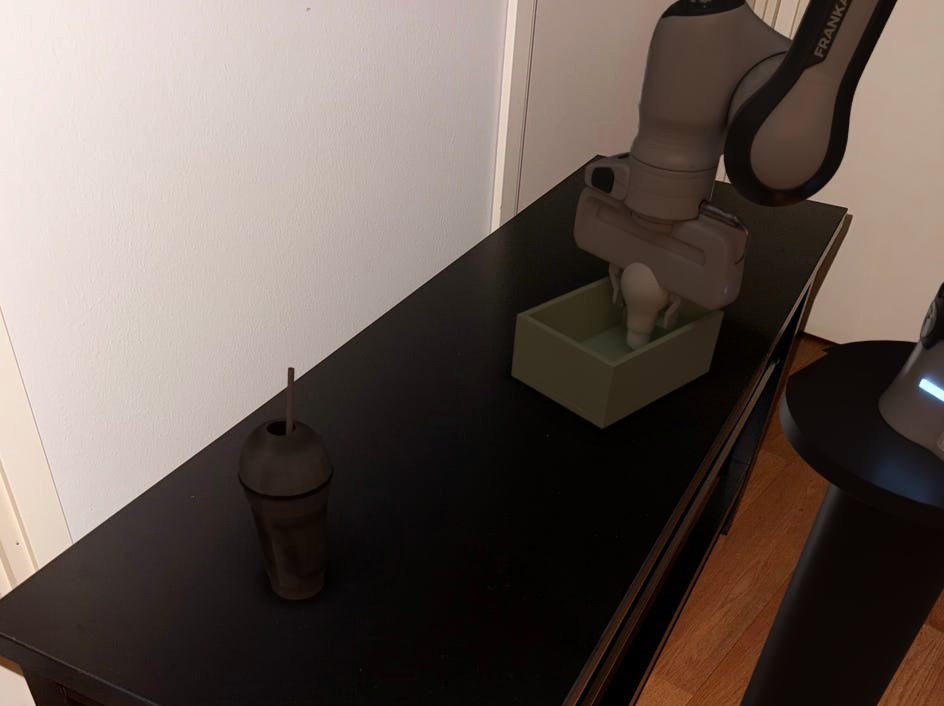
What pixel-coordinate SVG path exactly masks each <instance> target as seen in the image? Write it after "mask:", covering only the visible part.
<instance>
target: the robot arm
mask: <svg viewBox="0 0 944 706" xmlns="http://www.w3.org/2000/svg"><path fill="white" fill-rule="evenodd" d="M898 1H899V0H808V3H807V4H806V8H805V11H804V12H803V14H802V17H801V19H800V21H799V24H798V26H797V28H796V31H795V33H794V34H793V37H792V39H791V38H789V37H788V36H786V35H784V34H782V33H780V32H779V31H777V30H776V29H774V28H773V27H772V26H770V25H769V24H768V23H767V22H765V21H764V20H763V19H762V18H761V17H760V16H758V14H757V13H756V12H755V11H754V10H753V9H752V7H751V6H750V4H749V3H748V1H747V0H676V1H675V2H673V3H672V4H670V5H669V6H668V7H667V8H666V10H665V11H663V12H662V14H661V15H660V17H659V18H658V19H657V22H656V24H655V27H654V29H653V32H652V35H651V39H650V42H649V45H648V49H647V53H646V57H645V62H644V67H643V71H642V78H641V82H640V87H639V93H638V101H637V107H638V124H637V129H636V132H635V135H634V137H633V139H632V141H631V144H630V148H629V151H625V152H621V153H617V154H612V155H609V156H606V157H603V158H601V159H598V160H596V161H595V160H594V161H593V162H591V163H589V164H587V165H586V167H585V170H584V184H586V185H587V186H585V187H584V188H583V190H582V191H581V194H580V196H579V199H578V203H577V207H576V213H575V219H574V226H573V238H574V241H575V243H576V246H577V248H578V249H580V250H582V251H585V252H587V253H589V254H592V255H593V256H595V257H597V258H599V259H602V260H603V261H606V262H607V263H609V266H608V274H609V275H608V276H610V278H611V282H612V285H613V289H614V294H613V300H612V302H613V303H614V304H616V305H618V306H620V307H622V308H625V306H627V305H626V302H625V299H624V297H623V293H622V290H621V278H622V274H623V271H624V269H625V268H626V267H627V266H629V265H630V264H633V263H641V264H644V265H646V266H647V267H648V268H649V269H650V270H651V271H652V273H653V274H654V276H655V279H656V281H657V283H658V285H659V286H660V287H662V288H664V289H666V290H668V291H670V292H671V294H670V301H672V302H673V301H674V303H673V304H672V305H671V306H670V307H669V306H668V307H666V308H665V309H662V310H659V311H658V315H657V318H658V319H657V320H656V325H658V326H660V327H662V328H664V329H666V330H669V329H671V328H673V327H674V326H675V325H676V322H677V317H678V313H679V312H680V311H681V310H682V309H683V308H684V307H685V306H686V305H687V304H688V303H689V302H690V301H691V302H693V303H695V304H697V305H700V306H702V307H704V308H706V309H708V310H710V311H715V310H718V309H719V310H721V309H722V308H724V307H727V306H728V305H729V304H732V303H733V302H734V301H735V300H736V299H737V298H738V297H739V294H740V290H741V285H742V282H743V281H742V280H743V274H744V268H745V259H746V255H747V252H748V248H749V245H750V242H751V231H750V230H749V228H748V226H747V224H746V223H745V222H744V221H743V217H742V216H741V215H740V214H739V213H737V212H735V211H729V210H727V209H724V208H723V207H721V206H720V205H717V204H715V203H713V202H712V197H713V196H712V195H713V192H714V186H715V183H716V179H717V174H718V170H719V166H720V161H721V157H722V156H723V166H724V171H725V174H726V176H727V179H728V182H729V183H730V185H731V186H732V187H733V189H734V190H735V191H736V193H738V194H739V195H740V196H741V197H742V198H744V199H745V200H747V201H749V202H751V203H753V204H756V205H759V206H763V207H768V208H783V207H784V208H785V207H789V206H794V205H796V204H799V203H802V202H804V201H806V200H808V199H810V198H812V197H813V196H814V195H816V194H818V193H819V192H820V191H821V190H822V189H824V188H825V187H826V186H827V185H828V184H829V182H830V181H831V180H832V179H833V178H834V177H835V175H836V173H837V172H838V170H839V168H840V167H841V165H842V162H843V160H844V157H845V154H846V150H847V147H848V142H849V134H850V133H849V132H850V123H851V114H852V107H853V103H854V102H853V101H854V98H855V95H856V92H857V88H858V86H859V82H860V80H861V78H862V77H863V74H864V71H865V69H866V67H867V65H868V63H869V61H870V59H871V57H872V54H873V52H874V50H875V48H876V46H877V44H878V42H879V40H880V38H881V36H882V34H883V32H884V29H885V27H886V25H887V23H888V21H889V19H890V18H891V15H892V13H893V11H894V9H895V7H896V4H897V2H898ZM916 342H917V344H916V346H915V348H914V350H913V351H912V353H911V355H910V356H909V358H908V360H907V361H906V363H905V365H904V366H903V368H902V369H901V371H900V372H899V374H898V375H897V376H896V378H895V379H894V381H893V382H892V383H891V385H890V386H889V387H888V388H887V389H886V390H885V392H884V393H883V394H882V395H881V396H880V398H879V402H878V408H879V411H880V414H881V416H882V417H883V419H884V420H885V421H886V422H887V424H888V425H889V426H891V427H892V428H893V429H894V430H895V431H896V432H898V433H899V434H901V435H902V436H904V437H905V438H907V439H909V440H911V441H913V442H915V443H917V444H919V445H921V446H923V447H925V448H927V449H928V450H930V451H931V452H932V453H934V454H935V455H936V456H937V457H938V458H940V459H941V460H942V461H944V281H943V282H942V283H941V284H940V285H939V288H938V290H937V291H936V294H935V296H934V298H933V300H932V301H931V303H930V305H929V307H928V309H927V311H926V314H925V316H924V319H923V322H922V324H921V327H920V331H919V338H918V340H917V341H916Z"/></svg>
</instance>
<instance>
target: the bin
mask: <svg viewBox="0 0 944 706" xmlns="http://www.w3.org/2000/svg"><path fill="white" fill-rule="evenodd" d="M613 294H614V289H613V285H612V282H611V278H610V275H607V276H605V277H603V278H601V279H598V280H596V281H594V282H590V283H589V284H586V285H584V286H581V287H579V288H577V289H575V290H572V291H569V292H566V293H565V294H562V295H560V296H558V297H555V298H552V299H551V300H548V301H546V302H544V303H541V304H539V305H537V306H534V307H531V308H529V309H526V310H525V311H523V312H519V313H517V314H516V321H515V331H514V332H515V333H514V343H513V354H512V362H511V363H512V364H511V376H512V377H513V378H514V379H517V380H518V381H520V382H521V383H523V384H524V385H527V386H528V387H530V388H532V389H534V390H535V391H537V392H539V394H541V395H544V396H545V397H547V398H549V399H551V400H552V401H554V402H555V403H557V404H559V405H560V406H562V407H564V408H566V410H569V411H570V412H573V413H574V414H575V415H578V416H579V417H581V418H582V419H584V420H586V421H587V422H589V423H591V424H593V425H594V426H596V427H598V428H600V430H601V429H602V430H603V429H605V428H607V427H609V426H611V425H613V424H614V423H616V422H618V421H620V420H622V419H624V418H625V417H628V416H630V415H631V414H633V413H634V412H635V413H636V411H639V410H641V409H642V408H644V407H646V406H648V405H649V404H651V403H654V402H655V401H657V400H658V399H659V400H660V398H662V397H664V396H667V395H668V394H670V393H671V392H673V391H675V390H677V389H679V388H681V387H683V386H684V385H686V384H689V383H690V382H692V381H694V380H696V379H697V378H699V377H702V376H703V375H705V374H707V373H709V371H710V368H711V364H712V360H713V356H714V353H715V349H716V345H717V341H718V337H719V334H720V330H721V326H722V322H723V318H724V315H725V311H723V310H721V309H718V310H715V311H710V310H708V309H706V308H704V307H702V306H700V305H697V304H695V303H693V302H691V301H690V302H689V303H688V304H687V305H686V306H685V307H684V308H683V309H682V310H681V311H680V312H679V313H678V317H677V322H676V325H675V326H674V327H673V328H671V329H669V330H666V329H664V328H662V327H660V326H658V325H655V328H654V330H653V331H652V333H651V337H650V341H649V344H647V345H645V346H643V347H641V348H639V349H637V350H634V349H632V347H630V346H629V345H628V344H627V333H628V327H627V319H628V311H627V306H625V308H622V307H620V306H618V305H616V304H614V303H613V302H612V300H613ZM673 303H674V301H673V302H672V301H670V302H669V304H668V305H667V306H666V307H668V306H669V307H670V306H671V305H672V304H673ZM666 307H665V308H666ZM665 308H664V309H665Z"/></svg>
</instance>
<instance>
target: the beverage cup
mask: <svg viewBox="0 0 944 706" xmlns="http://www.w3.org/2000/svg"><path fill="white" fill-rule="evenodd" d="M295 370H296V369H295V367H293V366H289V367H287V381H286V383H287V385H286V387H287V389H286V418H284V417H283V418H282V417H279V418H273V419H270V420H266V421H264V422H263V423H261V424H259V425H257V427H256V428H253V430H252V431H251V432H250V434H248V436H247V437H246V439H245V440H244V442H243V444H242V446H241V450H240V454H239V459H238V470H237V478H238V481H239V484H240V486H241V487H242V490H243V492H244V495H245V498H246V501H247V502H248V504H249V507H250V510H251V513H252V518H253V522H254V526H255V530H256V534H257V537H258V542H259V545H260V550H261V553H262V554H261V555H262V558H263V561H264V565H265V570H266V573H267V576H268V578H269V580H270V585H271V588H272V590H273V592H275V594H276V595H278V596H279V597H281V598H283V599H287V600H292V601H293V600H295V601H297V600H298V601H299V600H300V601H301V600H304V599H305V600H306V599H309V598H311V597H313V596H315V595H317V594H318V593H319V592H320V591H321V590H322V588H323V587H324V585H325V572H326V564H327V563H326V562H327V561H326V560H327V535H328V534H327V533H328V532H327V531H328V503H329V497H330V492H331V486H332V479H333V477H334V466H333V463H332V461H331V455H330V454H329V451H328V450H329V449H327V447H326V444H325V442H324V440H323V438H322V437H321V436H320V434H319V433H317V432H316V431H315V430H314V429H313V428H311V426H309V425H308V424H305V423H304V422H303V421H302V422H301V421H300V420H297V419H294V405H295V403H294V401H295V372H296V371H295Z"/></svg>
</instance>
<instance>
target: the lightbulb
mask: <svg viewBox="0 0 944 706" xmlns="http://www.w3.org/2000/svg"><path fill="white" fill-rule="evenodd" d="M621 290H622V293H623V297H624V299H625V302H626V305H627V311H628V319H627V327H628V333H627V344H628V345H629V346H630V347H632V349H634V350H637V349H639V348H641V347H643V346H645V345H647V344H649V341H650V337H651V333H652V331H653V330H654V328H655V325H656V320H657V319H658V318H657V315H658V311H659V310H662V309H664V308H665V307H666V306H667V305H668V304H669V302H670V294H671V292H670V291H668V290H666V289H664V288H662V287H660V286H659V285H658V283H657V281H656V279H655V276H654V274H653V273H652V271H651V270H650V269H649V268H648V267H647V266H646V265H644V264H641V263H633V264H630V265H629V266H627V267H626V268H625V269H624V271H623V274H622V278H621Z"/></svg>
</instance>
